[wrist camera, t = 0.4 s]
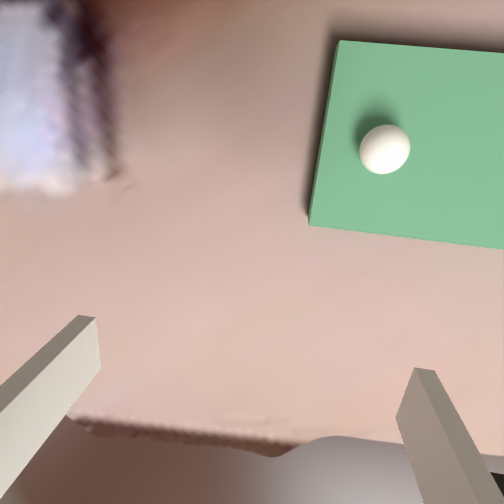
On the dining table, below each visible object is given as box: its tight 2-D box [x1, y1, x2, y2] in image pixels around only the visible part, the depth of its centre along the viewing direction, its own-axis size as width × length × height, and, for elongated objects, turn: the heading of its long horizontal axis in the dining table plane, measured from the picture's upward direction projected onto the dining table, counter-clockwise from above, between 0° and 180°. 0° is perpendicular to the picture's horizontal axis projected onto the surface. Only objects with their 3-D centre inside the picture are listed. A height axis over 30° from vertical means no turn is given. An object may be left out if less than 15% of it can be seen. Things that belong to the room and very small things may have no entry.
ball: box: [359, 125, 410, 174], centre depth 28 cm, size 4×4×4 cm
